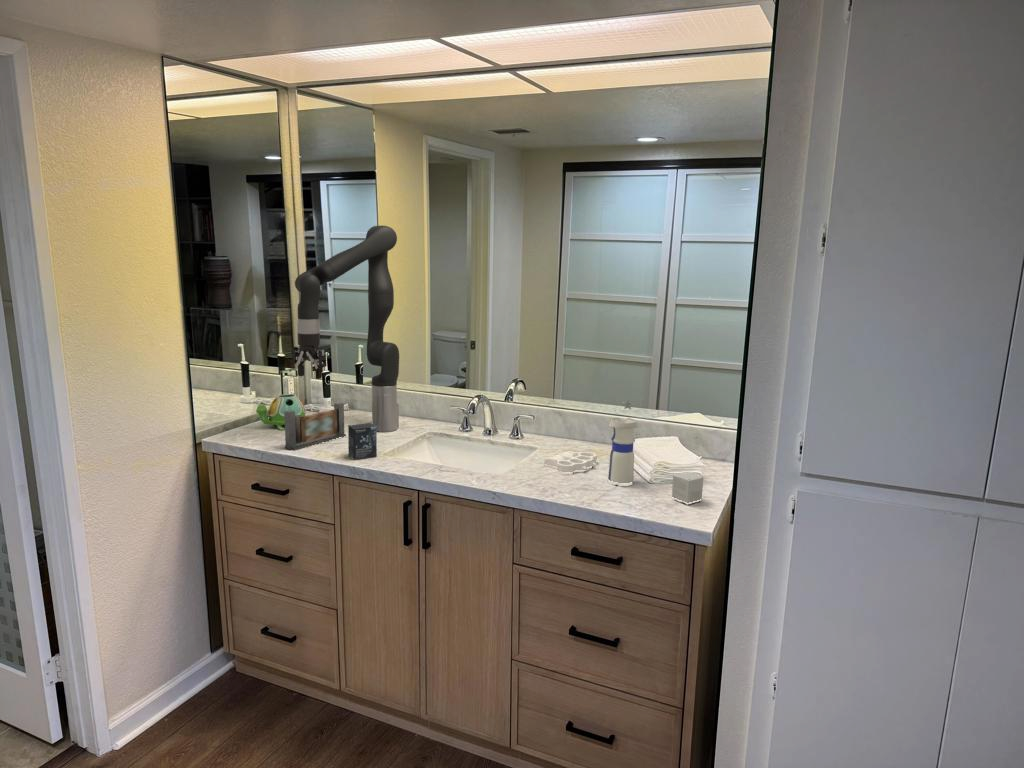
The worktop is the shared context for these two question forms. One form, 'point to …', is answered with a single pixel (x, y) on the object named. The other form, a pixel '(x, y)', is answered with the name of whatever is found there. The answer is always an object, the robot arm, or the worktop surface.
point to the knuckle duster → (572, 461)
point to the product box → (687, 487)
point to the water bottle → (622, 449)
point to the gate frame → (291, 439)
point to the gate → (315, 426)
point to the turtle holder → (281, 410)
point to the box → (362, 441)
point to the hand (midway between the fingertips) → (309, 377)
